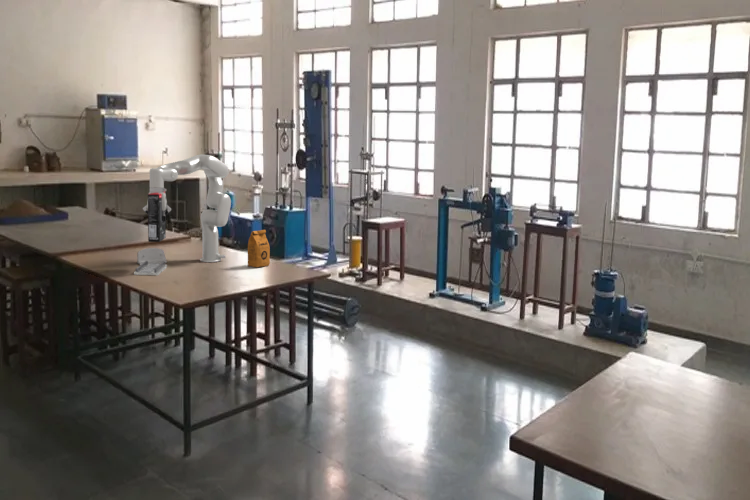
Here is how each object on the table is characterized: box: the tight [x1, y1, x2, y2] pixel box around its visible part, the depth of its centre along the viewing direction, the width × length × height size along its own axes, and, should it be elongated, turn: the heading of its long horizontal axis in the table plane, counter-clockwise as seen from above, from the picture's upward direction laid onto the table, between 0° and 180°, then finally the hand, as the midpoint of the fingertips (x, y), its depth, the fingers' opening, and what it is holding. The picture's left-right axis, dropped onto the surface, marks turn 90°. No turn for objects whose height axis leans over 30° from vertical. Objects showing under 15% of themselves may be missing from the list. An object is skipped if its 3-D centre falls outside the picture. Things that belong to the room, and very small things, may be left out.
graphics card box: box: [147, 191, 167, 243], centre depth 382 cm, size 17×7×27 cm, turn 6°
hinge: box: [136, 247, 168, 266], centre depth 408 cm, size 17×5×10 cm, turn 126°
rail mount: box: [133, 261, 168, 276], centre depth 386 cm, size 13×22×4 cm, turn 4°
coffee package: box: [247, 229, 271, 268], centre depth 408 cm, size 10×12×22 cm
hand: (157, 222), depth 382 cm, fingers closed on graphics card box, 6 cm apart
